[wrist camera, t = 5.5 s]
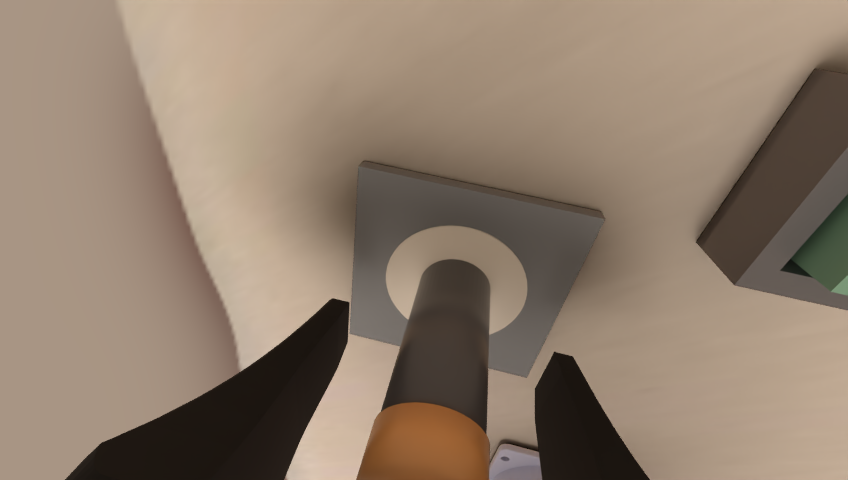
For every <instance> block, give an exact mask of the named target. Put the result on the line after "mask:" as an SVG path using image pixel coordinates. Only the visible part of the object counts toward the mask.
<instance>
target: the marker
mask: <svg viewBox="0 0 848 480" xmlns="http://www.w3.org/2000/svg"><path fill="white" fill-rule="evenodd" d="M489 324H490V283H489V280H488V278H487V277H486V275H485V274H484V273H483V271H482V270H480V269H479V268H478V267H477V266H475V265H473V264H471V263H469V262H466V261H463V260H458V259H446V260H441V261H438V262H435V263H433V264H432V265H430V266H429V267H428V268H427V269H426V270H425V271H424V272H423V274H422V276H421V279H420V283H419V286H418V289H417V293H416V296H415V299H414V303H413V306H412V309H411V313H410V316H409V319H408V323H407V326H406V330H405V333H404V336H403V340H402V343H401V346H400V350H399V353H398V356H397V360H396V363H395V366H394V370H393V373H392V376H391V380H390V383H389V386H388V390H387V393H386V397H385V400H384V403H383V407H382V410H381V412H380V413H379V414H378V415H377V417H376V419H375V421H374V424H373V427H372V430H371V434H370V437H369V440H368V443H367V446H366V450H365V453H364V456H363V459H362V463H361V466H360V469H359V472H358V476H357V479H356V480H489V467H490V443H489V440H488V437H487V435H486V430H487V395H488V359H489Z"/></svg>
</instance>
